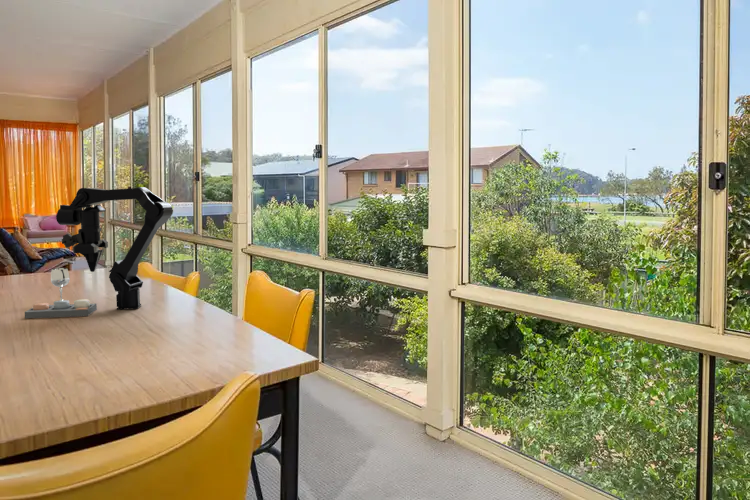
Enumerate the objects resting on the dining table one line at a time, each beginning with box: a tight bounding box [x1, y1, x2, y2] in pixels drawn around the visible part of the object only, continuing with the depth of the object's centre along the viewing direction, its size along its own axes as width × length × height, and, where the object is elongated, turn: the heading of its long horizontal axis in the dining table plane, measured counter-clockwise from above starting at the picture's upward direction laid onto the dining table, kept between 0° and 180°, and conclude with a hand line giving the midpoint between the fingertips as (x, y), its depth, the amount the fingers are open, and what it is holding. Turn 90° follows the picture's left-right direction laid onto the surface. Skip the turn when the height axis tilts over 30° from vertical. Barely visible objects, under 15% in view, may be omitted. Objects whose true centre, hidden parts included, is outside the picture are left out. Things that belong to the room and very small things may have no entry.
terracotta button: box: [32, 302, 50, 310], centre depth 180 cm, size 4×4×3 cm
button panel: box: [24, 303, 97, 319], centre depth 181 cm, size 18×10×2 cm, turn 102°
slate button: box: [53, 299, 70, 309], centre depth 181 cm, size 4×4×3 cm
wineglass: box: [50, 267, 70, 300], centre depth 198 cm, size 6×6×12 cm
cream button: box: [73, 299, 91, 309], centre depth 182 cm, size 4×4×3 cm
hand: (92, 271), depth 191 cm, fingers closed
